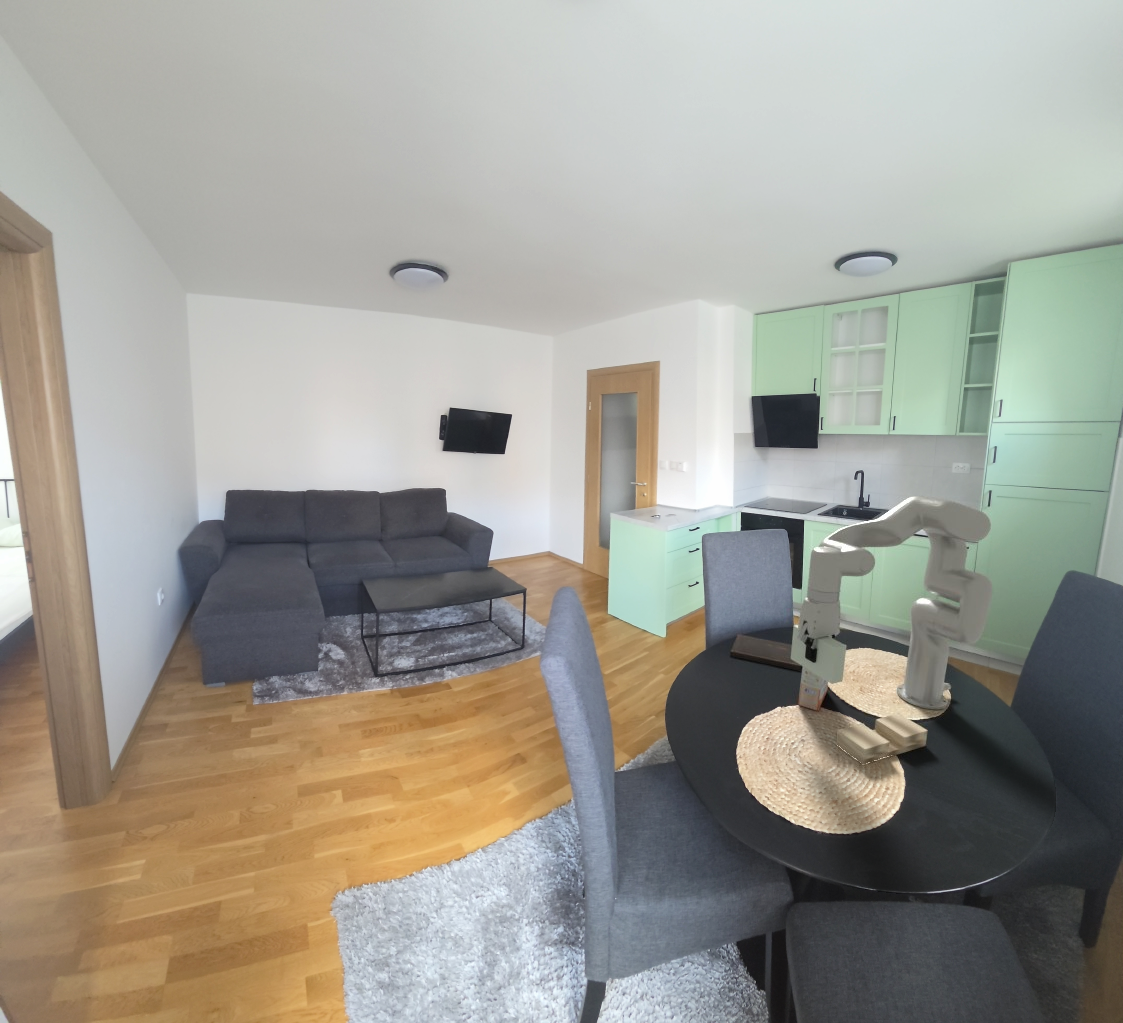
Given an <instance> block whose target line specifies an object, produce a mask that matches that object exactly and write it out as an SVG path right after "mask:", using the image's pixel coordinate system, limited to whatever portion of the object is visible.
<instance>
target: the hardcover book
mask: <svg viewBox="0 0 1123 1023" xmlns="http://www.w3.org/2000/svg"><path fill="white" fill-rule="evenodd" d="M791 650H792V644H789V643H786V642H785V643H783V642H779V641H774V640H768V639H763V638H759V637H754V636H748V635H743V634H738V633H737V635H736V637H735V640H734V642H733V644H732V647H731V650H730V654H729V656H730V657H733V658H738V659H742V660H747V661H752V662H756V663H759V664H760V663H761V664H765V665H771V666H775V667H780V668H785V669H788V670H793V671H798V672H802V665H800V664H798V663H797V662H795V661H793V660H792V659H791Z"/></svg>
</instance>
